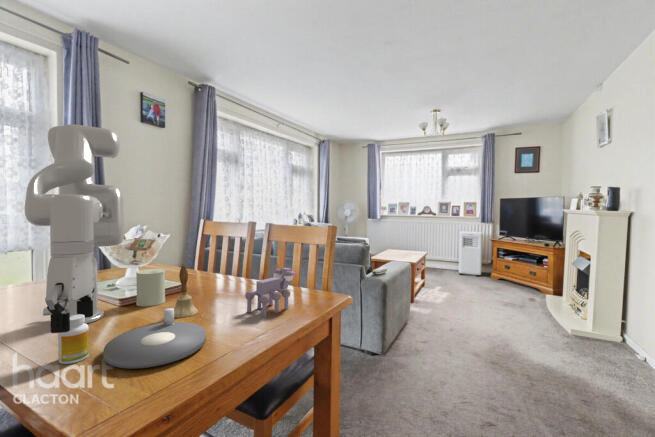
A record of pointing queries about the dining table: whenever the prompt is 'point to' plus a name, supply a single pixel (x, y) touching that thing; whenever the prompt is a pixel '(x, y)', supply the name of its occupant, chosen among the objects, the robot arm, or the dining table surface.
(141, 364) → the turntable
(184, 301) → the hand bell
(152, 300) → the can
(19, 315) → the dining table surface
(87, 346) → the supplement bottle
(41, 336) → the dining table surface
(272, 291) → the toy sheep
